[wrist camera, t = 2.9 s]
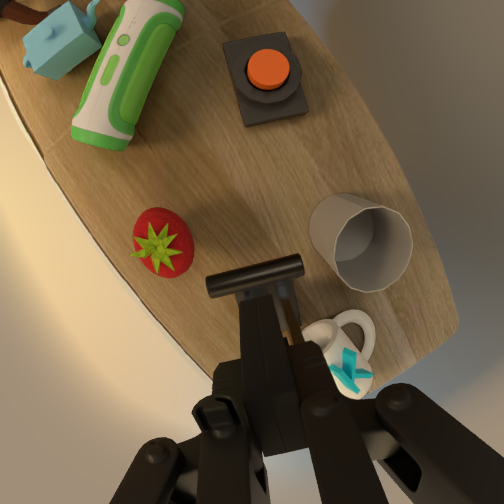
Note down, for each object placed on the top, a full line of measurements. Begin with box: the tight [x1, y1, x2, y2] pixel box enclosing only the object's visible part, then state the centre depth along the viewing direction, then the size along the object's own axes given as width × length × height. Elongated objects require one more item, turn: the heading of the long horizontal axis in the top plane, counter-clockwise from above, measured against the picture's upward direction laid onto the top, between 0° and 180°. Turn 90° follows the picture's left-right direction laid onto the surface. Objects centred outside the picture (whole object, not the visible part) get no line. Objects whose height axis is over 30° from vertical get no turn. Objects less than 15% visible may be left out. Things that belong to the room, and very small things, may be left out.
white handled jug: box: [302, 309, 376, 399], centre depth 39 cm, size 12×9×12 cm
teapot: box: [22, 0, 102, 81], centre depth 25 cm, size 12×6×8 cm, turn 118°
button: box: [247, 49, 290, 90], centre depth 28 cm, size 4×4×2 cm
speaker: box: [71, 0, 185, 151], centre depth 27 cm, size 18×7×8 cm, turn 159°
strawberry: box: [130, 207, 194, 278], centre depth 32 cm, size 6×8×10 cm
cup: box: [309, 193, 413, 293], centre depth 33 cm, size 8×8×10 cm
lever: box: [206, 253, 305, 347], centre depth 24 cm, size 14×6×2 cm, turn 14°
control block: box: [223, 32, 309, 127], centre depth 30 cm, size 10×7×4 cm
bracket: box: [235, 279, 305, 345], centre depth 33 cm, size 8×7×14 cm
